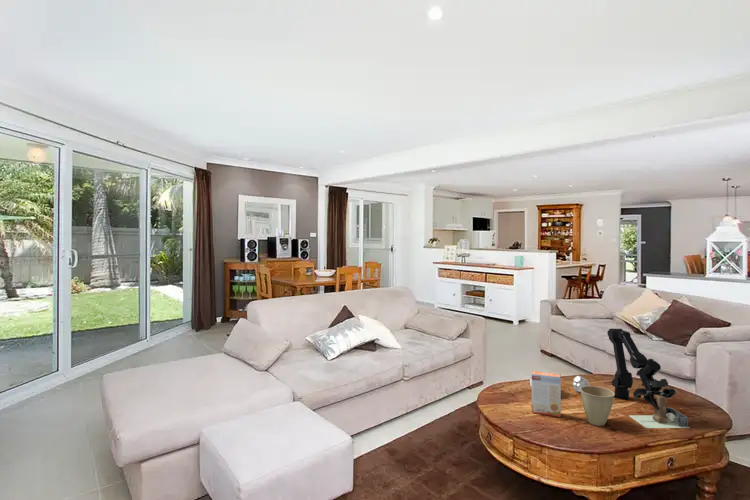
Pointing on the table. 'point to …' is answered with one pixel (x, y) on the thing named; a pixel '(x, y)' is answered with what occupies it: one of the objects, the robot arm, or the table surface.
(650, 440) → the table surface
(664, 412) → the block
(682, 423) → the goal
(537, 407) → the cracker box
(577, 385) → the shiny silver sphere
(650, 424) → the pitch
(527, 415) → the table surface
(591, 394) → the plant pot
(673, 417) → the ball
